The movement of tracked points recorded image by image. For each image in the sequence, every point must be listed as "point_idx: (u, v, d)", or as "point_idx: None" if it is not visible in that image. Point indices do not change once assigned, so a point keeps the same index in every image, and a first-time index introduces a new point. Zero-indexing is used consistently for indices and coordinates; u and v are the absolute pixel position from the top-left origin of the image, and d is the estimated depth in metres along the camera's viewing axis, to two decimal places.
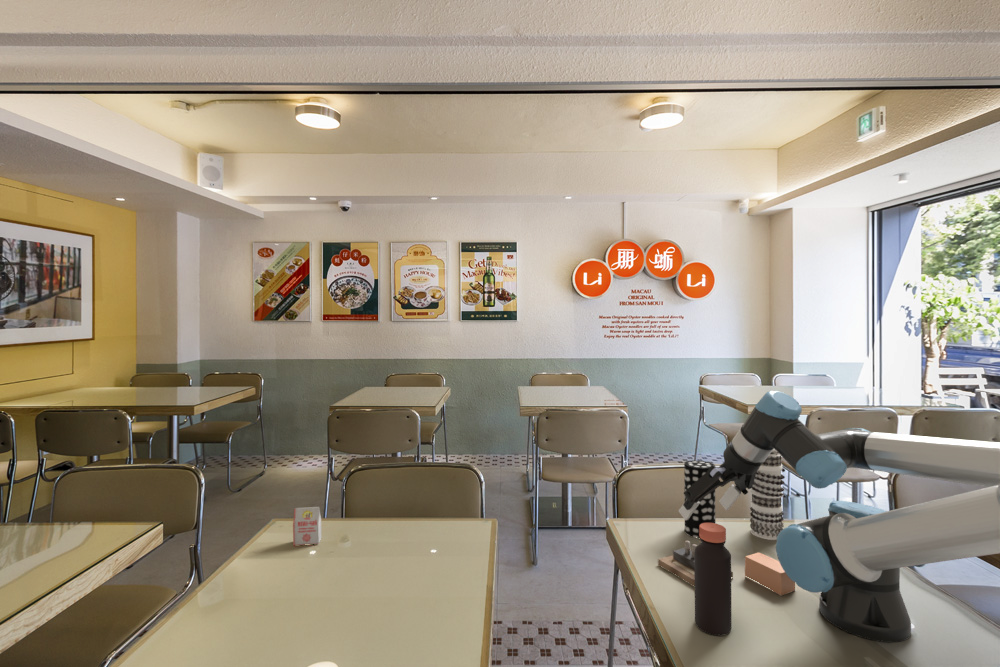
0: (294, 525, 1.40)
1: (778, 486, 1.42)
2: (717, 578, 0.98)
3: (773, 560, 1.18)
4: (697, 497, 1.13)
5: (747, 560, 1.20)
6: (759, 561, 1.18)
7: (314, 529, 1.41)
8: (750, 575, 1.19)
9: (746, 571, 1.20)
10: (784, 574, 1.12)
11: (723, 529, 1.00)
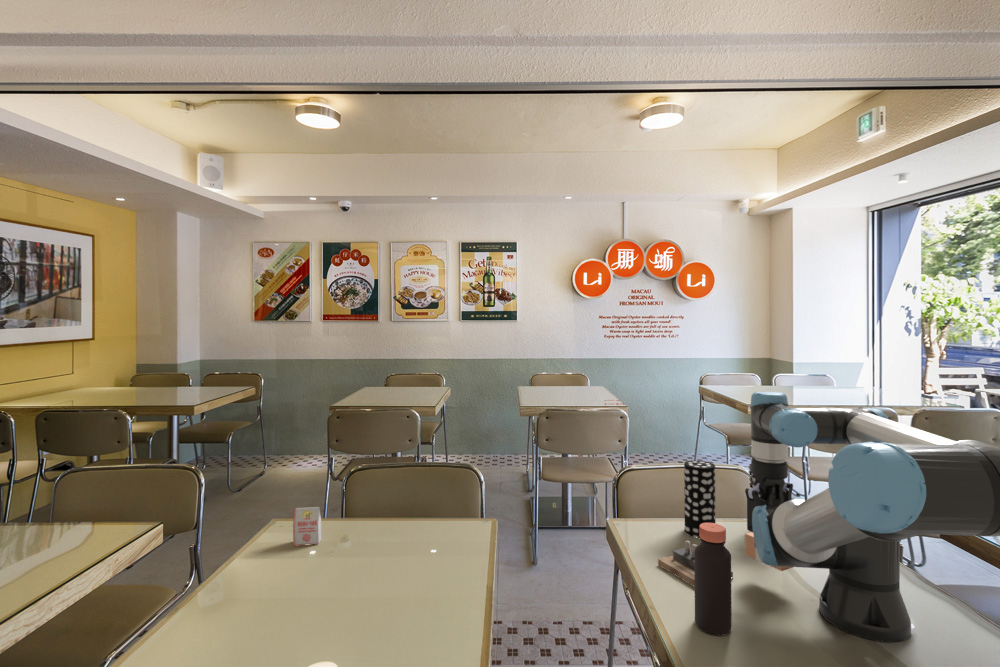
0: (294, 525, 1.40)
1: None
2: (718, 578, 0.98)
3: None
4: None
5: (747, 537, 1.19)
6: None
7: (314, 529, 1.41)
8: (750, 552, 1.19)
9: (746, 548, 1.20)
10: None
11: (723, 529, 1.00)
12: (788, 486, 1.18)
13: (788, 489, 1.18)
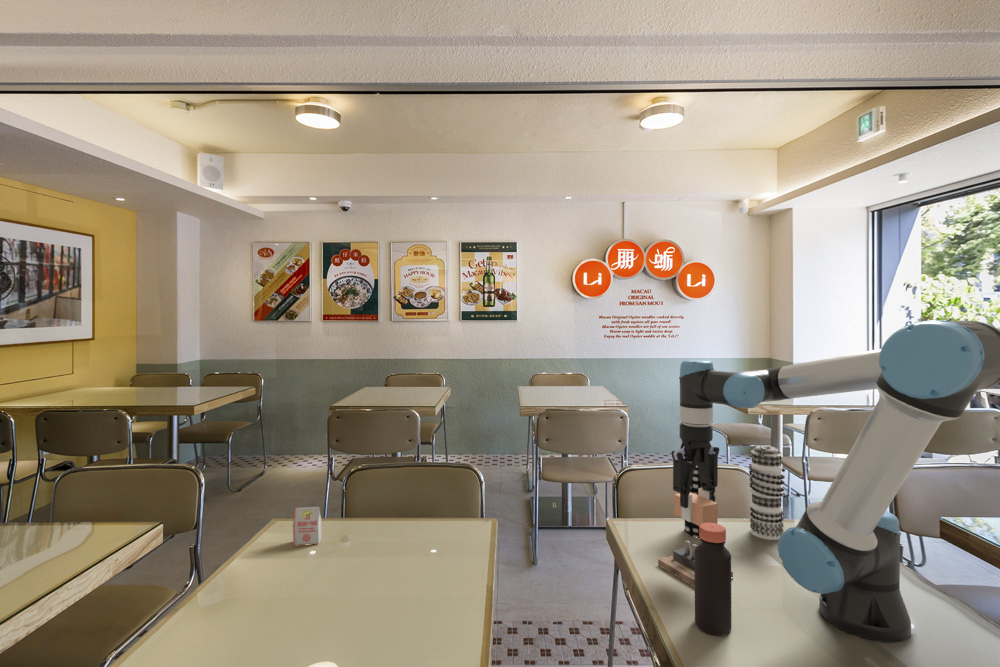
0: (294, 525, 1.40)
1: (778, 486, 1.42)
2: (717, 578, 0.98)
3: (699, 497, 1.24)
4: (683, 485, 1.20)
5: (676, 497, 1.26)
6: None
7: (314, 529, 1.41)
8: (678, 511, 1.25)
9: (675, 508, 1.26)
10: (706, 508, 1.19)
11: (723, 529, 1.00)
12: (714, 450, 1.24)
13: (714, 452, 1.24)
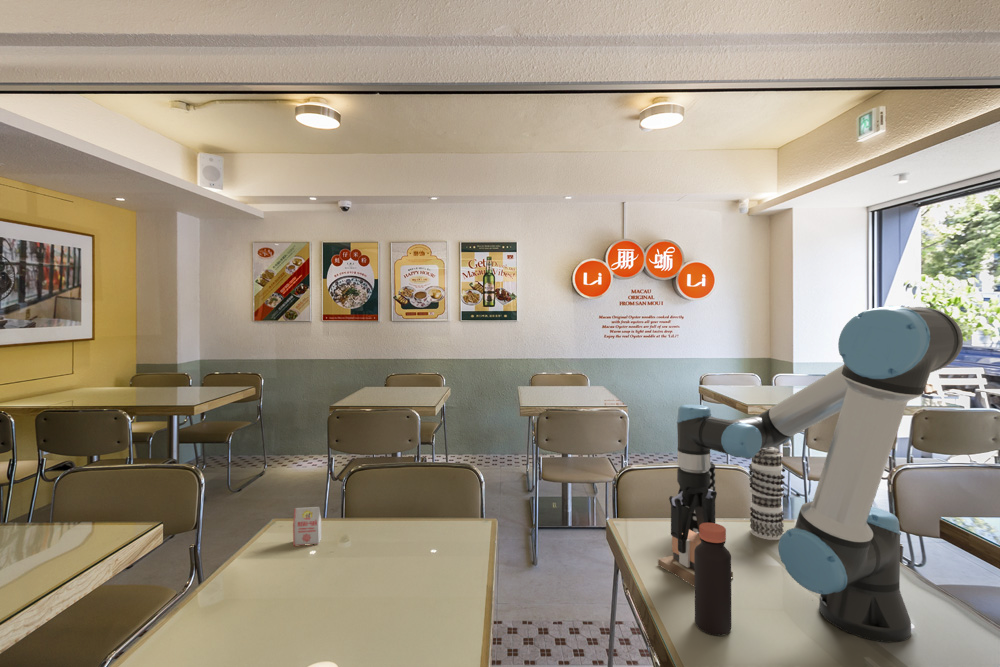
0: (294, 525, 1.40)
1: (778, 486, 1.41)
2: (717, 578, 0.98)
3: (697, 535, 1.24)
4: (681, 531, 1.20)
5: None
6: None
7: (314, 529, 1.41)
8: (676, 549, 1.25)
9: (673, 545, 1.26)
10: None
11: (723, 529, 1.00)
12: (712, 494, 1.25)
13: (712, 497, 1.24)
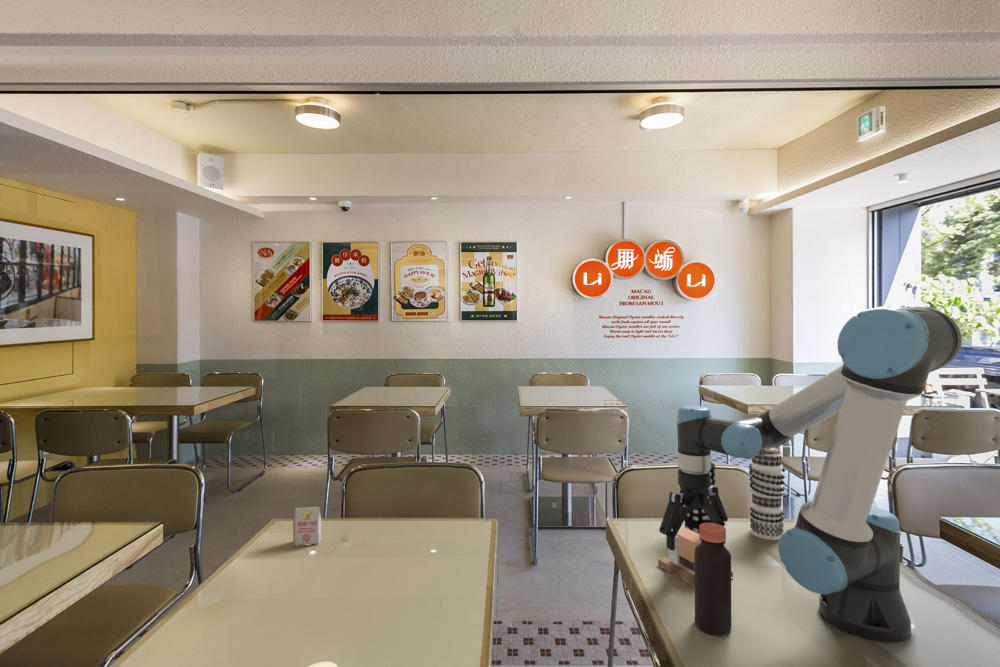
0: (294, 525, 1.40)
1: (778, 486, 1.42)
2: (717, 578, 0.98)
3: (697, 535, 1.24)
4: (671, 528, 1.18)
5: None
6: (684, 535, 1.24)
7: (314, 529, 1.41)
8: None
9: None
10: None
11: (723, 529, 1.00)
12: (713, 490, 1.25)
13: (714, 494, 1.24)
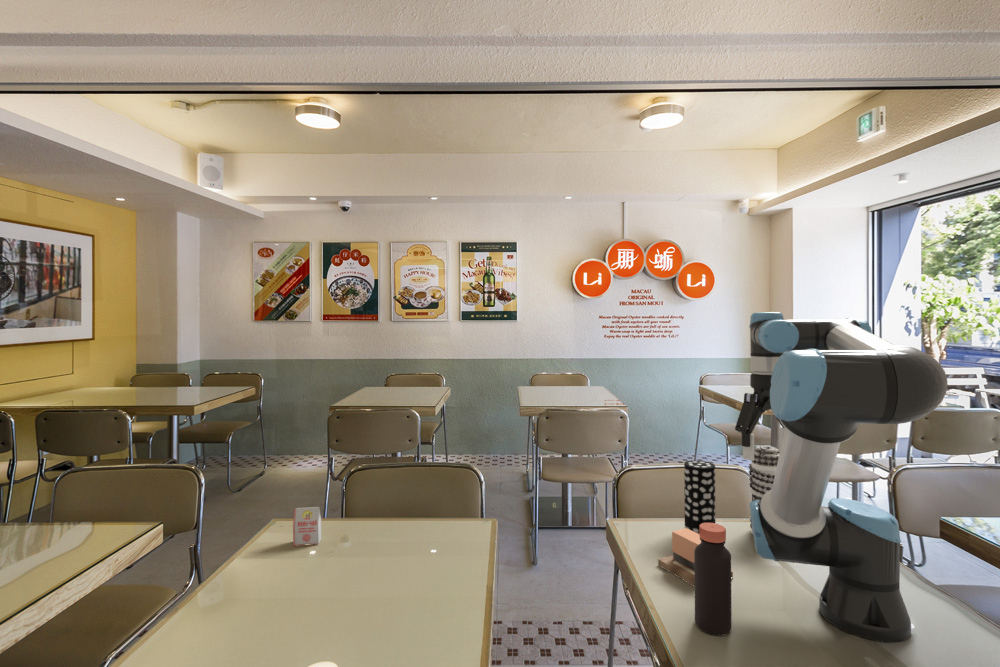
0: (294, 525, 1.40)
1: None
2: (717, 578, 0.98)
3: (697, 535, 1.24)
4: (747, 425, 1.23)
5: (674, 535, 1.26)
6: (684, 535, 1.24)
7: (314, 529, 1.41)
8: (676, 549, 1.25)
9: (673, 545, 1.26)
10: None
11: (723, 529, 1.00)
12: None
13: None
